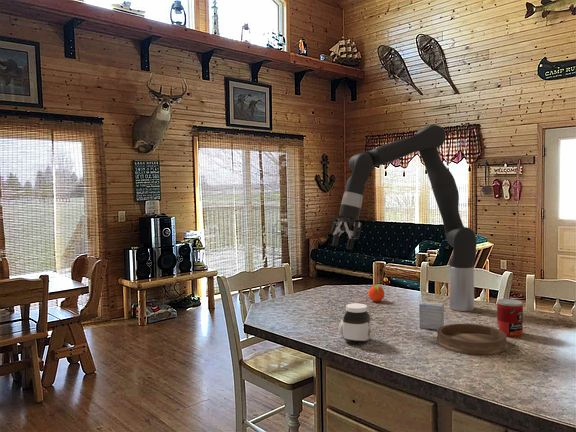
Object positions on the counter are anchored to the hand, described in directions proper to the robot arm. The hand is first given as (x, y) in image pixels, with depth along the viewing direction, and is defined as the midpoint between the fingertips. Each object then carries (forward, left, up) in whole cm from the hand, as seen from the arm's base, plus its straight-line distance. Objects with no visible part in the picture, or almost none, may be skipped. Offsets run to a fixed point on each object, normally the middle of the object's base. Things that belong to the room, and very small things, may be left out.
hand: (341, 247), depth 180 cm
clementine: (-31, -9, -28) cm, 43 cm away
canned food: (-26, +51, -28) cm, 64 cm away
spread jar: (+15, +18, -28) cm, 37 cm away
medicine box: (-14, +29, -28) cm, 43 cm away
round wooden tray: (-8, +47, -28) cm, 55 cm away
